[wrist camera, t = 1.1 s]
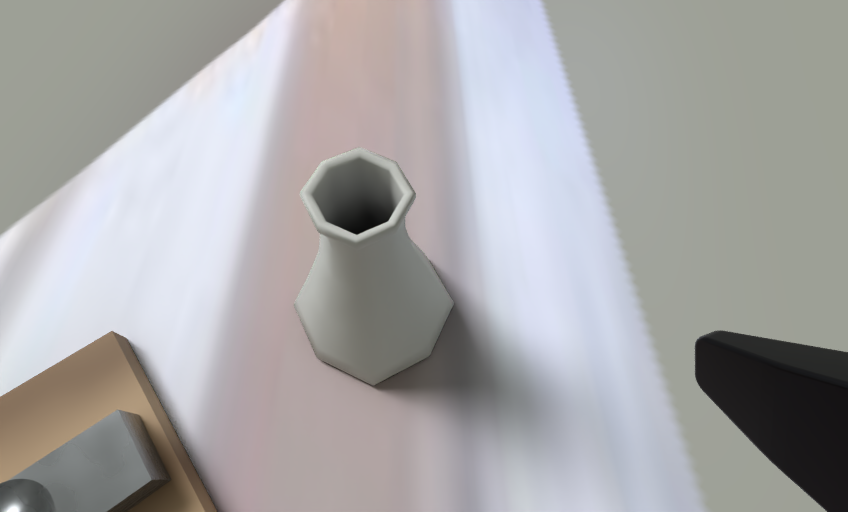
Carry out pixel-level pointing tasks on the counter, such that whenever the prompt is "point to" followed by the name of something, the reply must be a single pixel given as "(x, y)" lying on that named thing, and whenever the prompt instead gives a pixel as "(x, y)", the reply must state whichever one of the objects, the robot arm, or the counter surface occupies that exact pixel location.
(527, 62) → the counter surface
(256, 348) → the counter surface
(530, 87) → the counter surface
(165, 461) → the tan board
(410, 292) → the flask
